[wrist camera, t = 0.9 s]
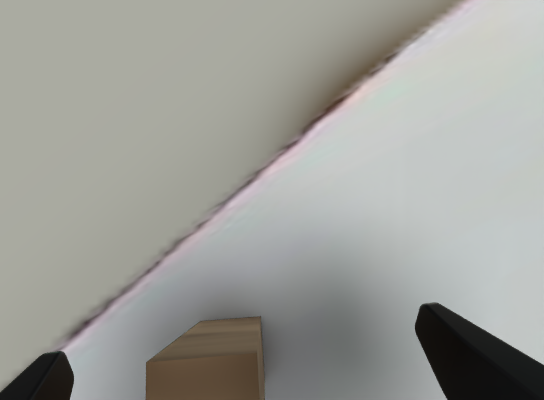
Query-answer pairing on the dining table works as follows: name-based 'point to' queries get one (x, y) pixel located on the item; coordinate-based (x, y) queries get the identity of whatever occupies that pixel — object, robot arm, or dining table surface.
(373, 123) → the dining table surface
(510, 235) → the dining table surface
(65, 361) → the robot arm
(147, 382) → the rail post
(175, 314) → the dining table surface
